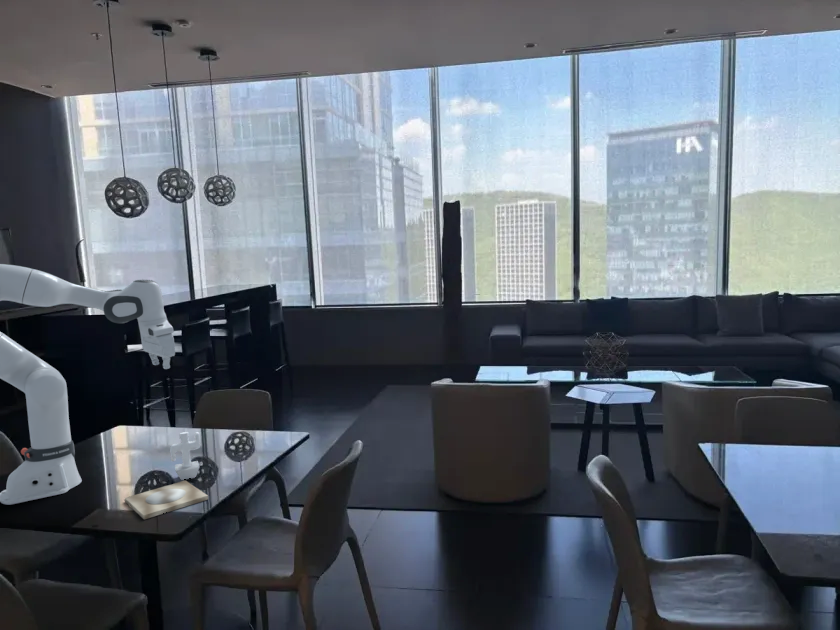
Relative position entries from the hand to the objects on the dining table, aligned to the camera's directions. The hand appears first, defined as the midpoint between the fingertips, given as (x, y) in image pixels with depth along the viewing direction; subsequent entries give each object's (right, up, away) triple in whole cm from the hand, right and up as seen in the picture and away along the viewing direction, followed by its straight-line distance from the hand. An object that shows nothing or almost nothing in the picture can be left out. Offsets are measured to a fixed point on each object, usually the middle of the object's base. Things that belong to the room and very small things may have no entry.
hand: (161, 366), depth 201 cm
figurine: (+11, -36, -6) cm, 38 cm away
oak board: (+13, -38, -25) cm, 47 cm away
